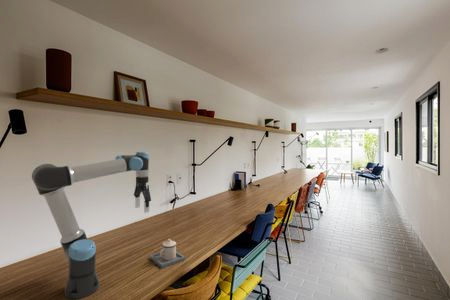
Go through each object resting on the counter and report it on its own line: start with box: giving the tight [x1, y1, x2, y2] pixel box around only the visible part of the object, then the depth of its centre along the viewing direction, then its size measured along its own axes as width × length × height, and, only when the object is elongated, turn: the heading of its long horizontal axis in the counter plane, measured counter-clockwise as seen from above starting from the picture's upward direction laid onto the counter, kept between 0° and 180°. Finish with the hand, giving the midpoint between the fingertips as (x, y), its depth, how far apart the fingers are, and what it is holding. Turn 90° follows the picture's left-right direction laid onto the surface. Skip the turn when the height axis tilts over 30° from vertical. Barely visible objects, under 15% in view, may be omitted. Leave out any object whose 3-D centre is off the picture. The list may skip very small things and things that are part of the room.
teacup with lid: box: [159, 238, 177, 260], centre depth 158 cm, size 12×9×12 cm
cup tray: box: [149, 250, 186, 269], centre depth 159 cm, size 16×16×2 cm
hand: (141, 209), depth 157 cm, fingers open, 13 cm apart
